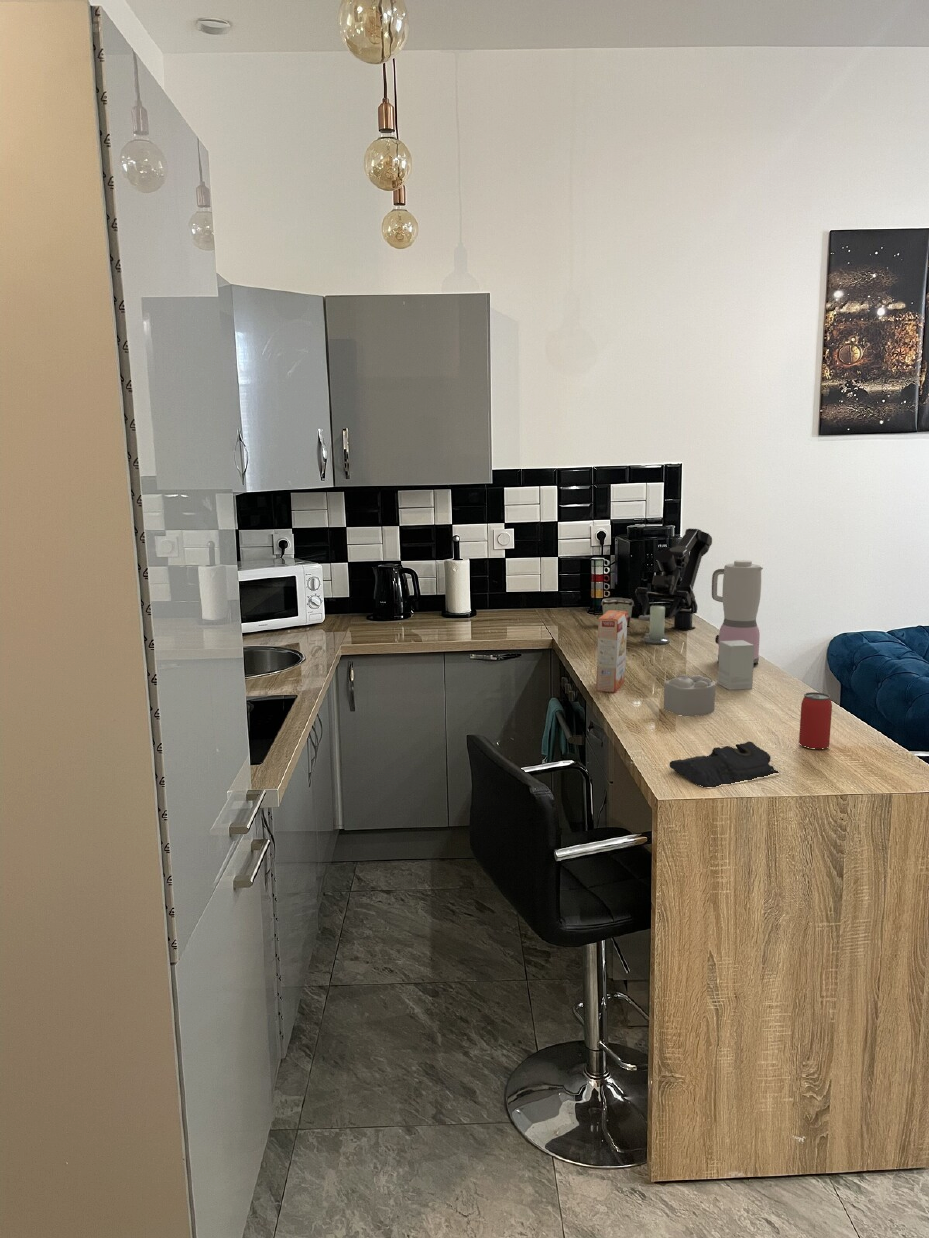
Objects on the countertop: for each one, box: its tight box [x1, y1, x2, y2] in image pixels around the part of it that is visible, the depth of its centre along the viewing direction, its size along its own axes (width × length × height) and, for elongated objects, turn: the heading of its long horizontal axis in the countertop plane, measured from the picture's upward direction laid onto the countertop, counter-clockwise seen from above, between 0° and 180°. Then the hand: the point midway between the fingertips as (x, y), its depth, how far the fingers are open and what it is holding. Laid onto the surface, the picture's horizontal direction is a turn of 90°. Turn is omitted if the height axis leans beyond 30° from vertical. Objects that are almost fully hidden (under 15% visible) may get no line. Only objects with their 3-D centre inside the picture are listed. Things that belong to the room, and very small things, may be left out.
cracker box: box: [595, 610, 628, 694], centre depth 267 cm, size 14×6×21 cm, turn 160°
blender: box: [711, 559, 764, 665], centre depth 294 cm, size 16×12×32 cm
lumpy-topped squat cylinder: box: [663, 673, 717, 717], centre depth 246 cm, size 10×13×9 cm
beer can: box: [798, 691, 833, 749], centre depth 216 cm, size 7×7×12 cm
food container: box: [600, 597, 635, 627], centre depth 355 cm, size 12×6×10 cm, turn 84°
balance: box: [638, 614, 671, 646], centre depth 334 cm, size 23×9×6 cm, turn 179°
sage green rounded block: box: [648, 605, 666, 640], centre depth 326 cm, size 5×5×11 cm
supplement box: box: [717, 640, 755, 691], centre depth 268 cm, size 7×7×13 cm
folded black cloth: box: [669, 740, 780, 788], centre depth 201 cm, size 15×22×5 cm
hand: (656, 616), depth 324 cm, fingers open, 9 cm apart
